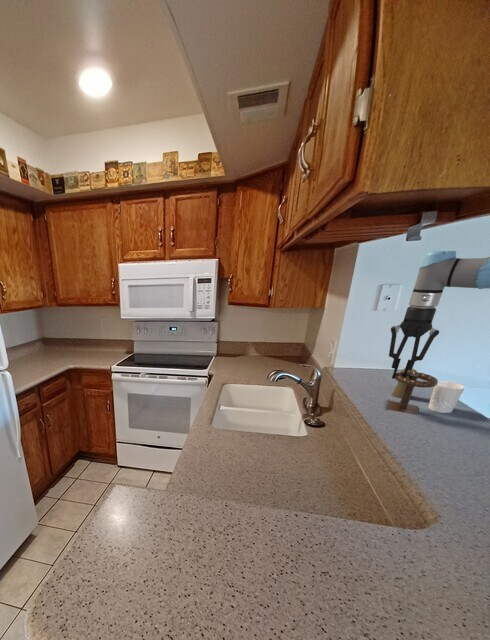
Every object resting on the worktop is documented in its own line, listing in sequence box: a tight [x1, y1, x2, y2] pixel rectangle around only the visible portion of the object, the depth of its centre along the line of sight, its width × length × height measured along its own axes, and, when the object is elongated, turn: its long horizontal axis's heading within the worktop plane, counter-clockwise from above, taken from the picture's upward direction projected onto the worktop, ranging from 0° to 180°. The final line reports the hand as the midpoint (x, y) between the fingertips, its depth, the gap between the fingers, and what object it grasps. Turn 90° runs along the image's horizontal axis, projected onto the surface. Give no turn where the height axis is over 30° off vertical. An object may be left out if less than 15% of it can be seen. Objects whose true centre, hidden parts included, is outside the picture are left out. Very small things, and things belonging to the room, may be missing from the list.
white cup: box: [428, 380, 466, 414], centre depth 115 cm, size 8×8×10 cm
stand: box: [386, 374, 419, 416], centre depth 114 cm, size 9×9×14 cm
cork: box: [391, 368, 418, 399], centre depth 128 cm, size 6×6×11 cm
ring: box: [394, 370, 439, 389], centre depth 111 cm, size 12×12×2 cm
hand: (398, 378), depth 114 cm, fingers closed on ring, 2 cm apart
